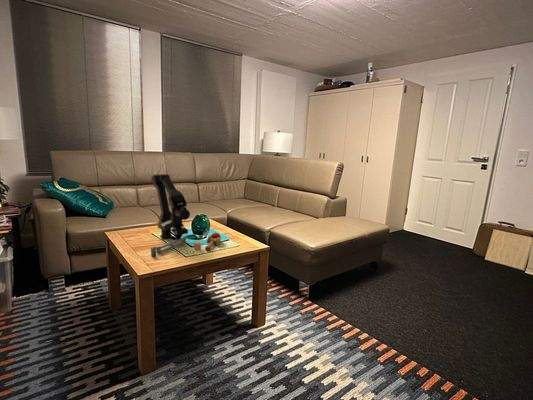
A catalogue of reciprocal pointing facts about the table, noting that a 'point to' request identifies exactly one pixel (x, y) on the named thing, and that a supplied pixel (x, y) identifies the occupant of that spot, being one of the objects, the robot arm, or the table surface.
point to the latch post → (197, 246)
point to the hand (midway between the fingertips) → (177, 241)
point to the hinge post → (153, 251)
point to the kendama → (213, 241)
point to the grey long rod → (160, 250)
